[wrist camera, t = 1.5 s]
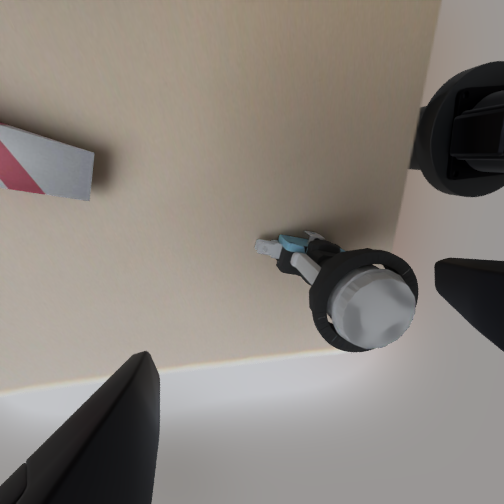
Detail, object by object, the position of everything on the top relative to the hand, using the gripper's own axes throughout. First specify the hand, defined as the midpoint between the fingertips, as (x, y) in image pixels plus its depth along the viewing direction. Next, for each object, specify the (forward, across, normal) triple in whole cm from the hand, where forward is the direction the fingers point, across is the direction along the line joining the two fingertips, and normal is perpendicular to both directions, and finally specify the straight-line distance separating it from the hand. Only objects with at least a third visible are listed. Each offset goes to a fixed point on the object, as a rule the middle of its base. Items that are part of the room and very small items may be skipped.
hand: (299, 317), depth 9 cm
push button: (+13, -4, +3) cm, 14 cm away
